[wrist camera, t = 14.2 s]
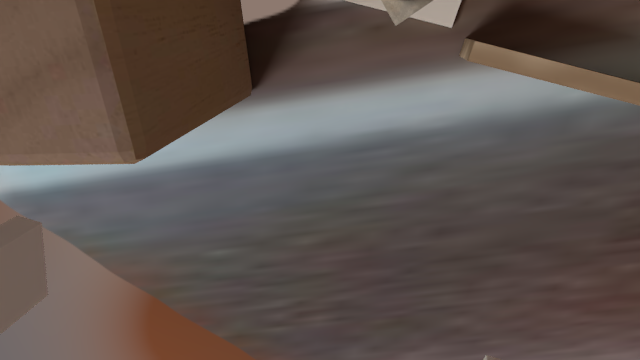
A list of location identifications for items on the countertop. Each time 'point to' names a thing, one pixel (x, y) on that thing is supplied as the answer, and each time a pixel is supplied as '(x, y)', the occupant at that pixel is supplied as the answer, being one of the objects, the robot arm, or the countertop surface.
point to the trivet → (425, 10)
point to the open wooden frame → (551, 71)
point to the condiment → (403, 8)
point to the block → (114, 76)
